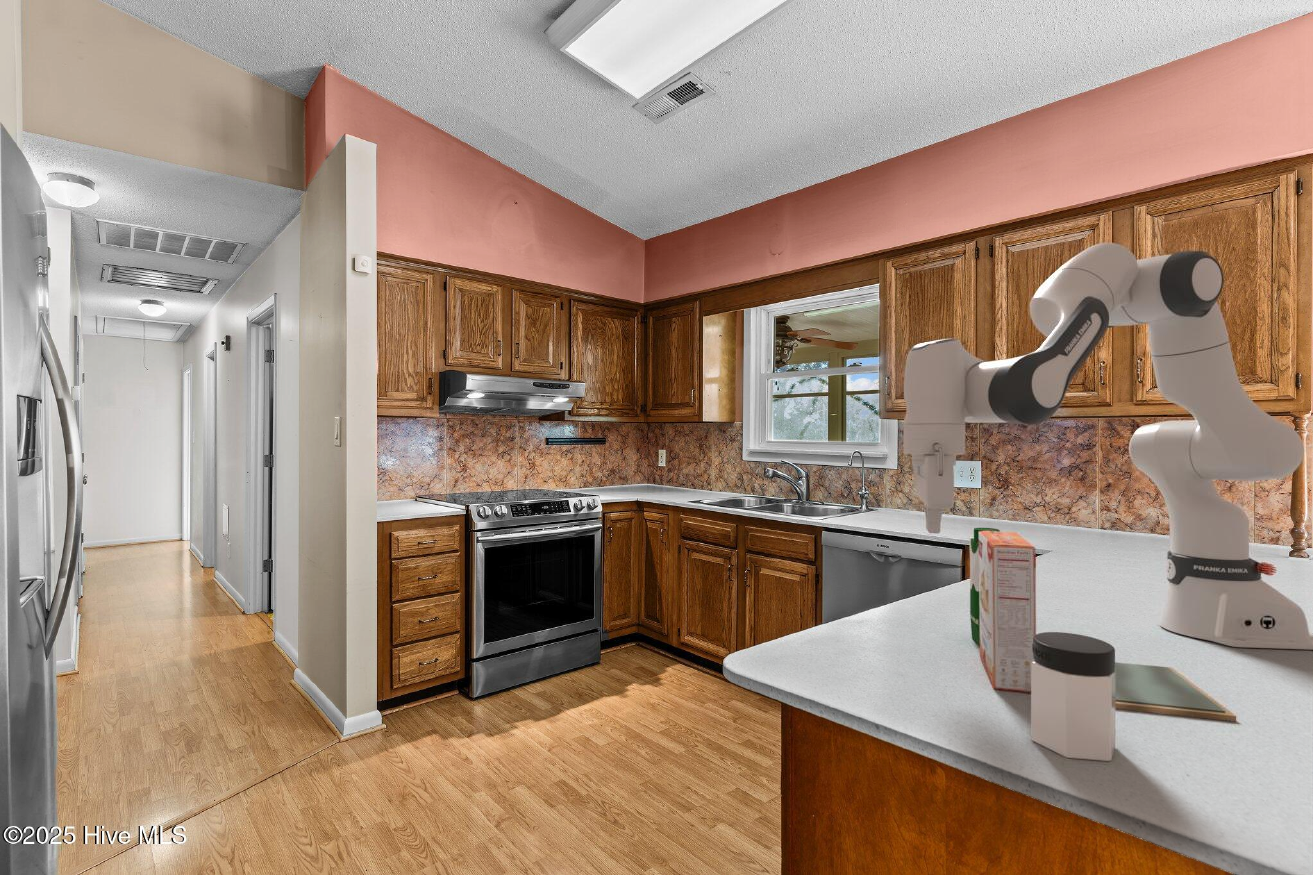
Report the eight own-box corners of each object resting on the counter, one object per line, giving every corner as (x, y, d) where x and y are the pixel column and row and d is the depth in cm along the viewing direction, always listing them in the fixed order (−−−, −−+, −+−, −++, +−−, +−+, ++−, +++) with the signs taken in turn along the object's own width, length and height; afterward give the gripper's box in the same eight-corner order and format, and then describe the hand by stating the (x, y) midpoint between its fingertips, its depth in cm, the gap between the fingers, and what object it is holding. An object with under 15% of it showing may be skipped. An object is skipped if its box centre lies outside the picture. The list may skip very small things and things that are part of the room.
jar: (1039, 721, 82) (1040, 626, 82) (1118, 740, 77) (1118, 639, 77) (1025, 747, 75) (1025, 644, 75) (1110, 770, 70) (1110, 659, 70)
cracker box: (976, 657, 106) (977, 529, 105) (1018, 662, 103) (1018, 531, 103) (989, 689, 92) (990, 543, 92) (1038, 695, 90) (1038, 545, 90)
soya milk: (964, 636, 117) (965, 525, 117) (1019, 639, 115) (1019, 526, 115) (978, 652, 108) (979, 532, 108) (1038, 655, 106) (1038, 534, 106)
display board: (1171, 671, 99) (1171, 666, 99) (1236, 721, 82) (1236, 714, 82) (1024, 658, 105) (1024, 652, 105) (1055, 701, 88) (1055, 695, 88)
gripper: (966, 444, 90) (965, 543, 90) (947, 443, 109) (947, 524, 109) (917, 443, 92) (916, 541, 92) (907, 442, 111) (907, 523, 111)
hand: (933, 532), depth 101 cm, fingers closed
